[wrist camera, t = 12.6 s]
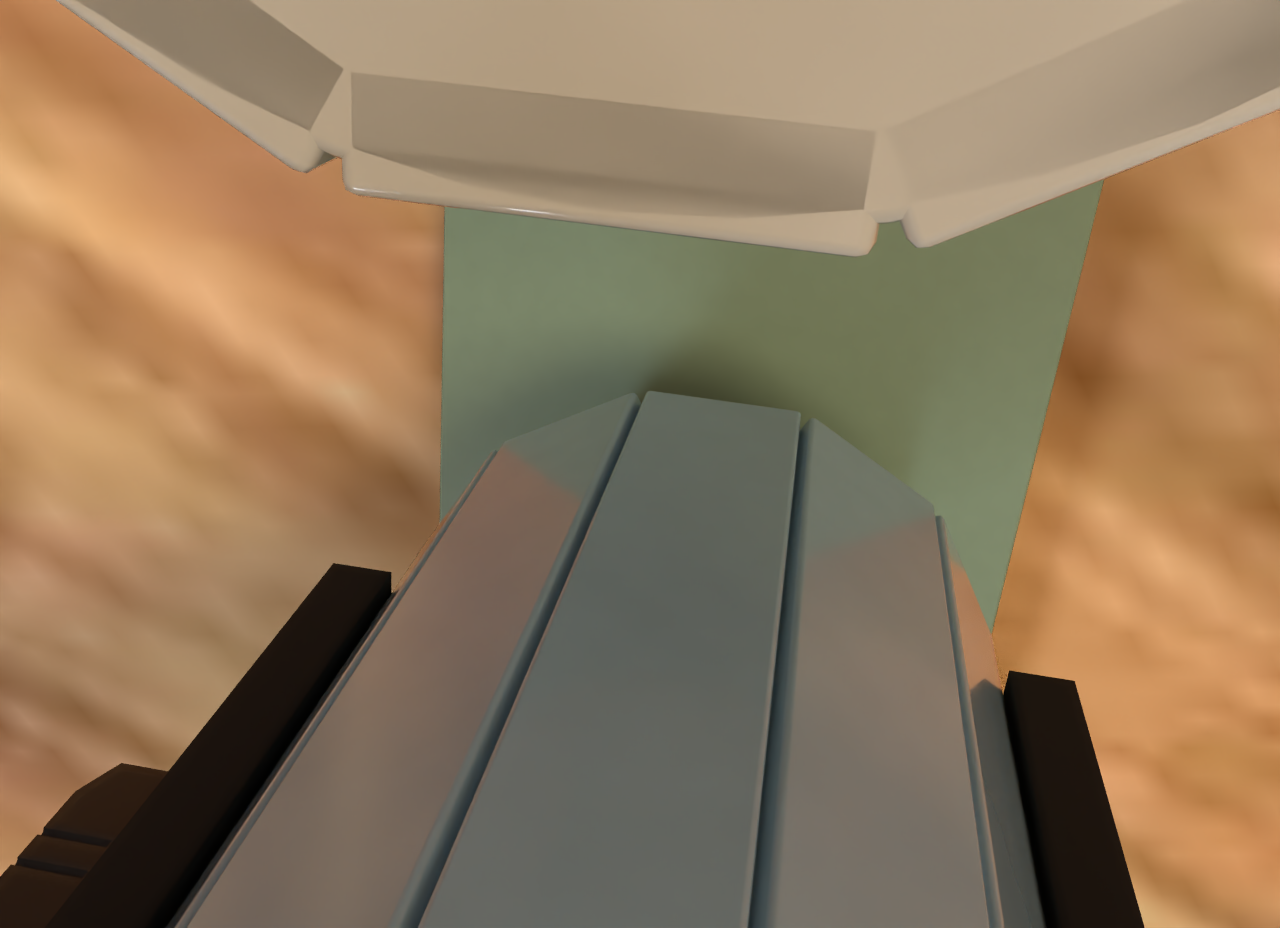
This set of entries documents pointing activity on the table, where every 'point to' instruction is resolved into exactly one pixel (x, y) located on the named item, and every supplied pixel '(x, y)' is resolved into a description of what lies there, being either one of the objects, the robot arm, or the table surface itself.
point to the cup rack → (777, 345)
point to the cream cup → (718, 102)
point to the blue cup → (654, 705)
